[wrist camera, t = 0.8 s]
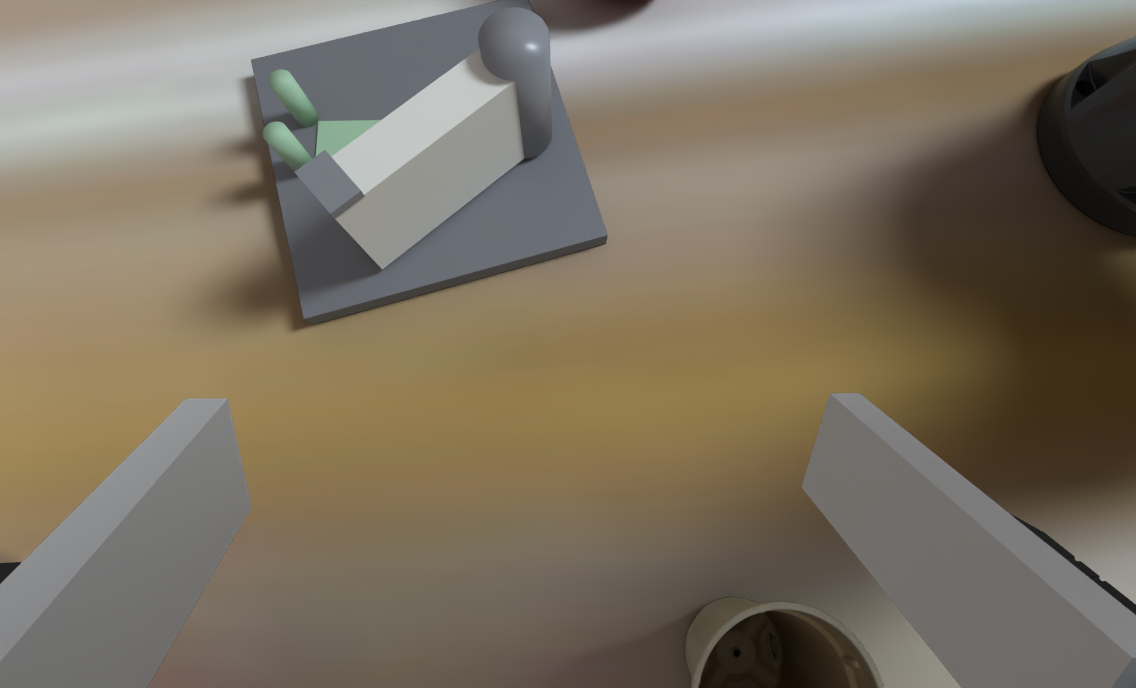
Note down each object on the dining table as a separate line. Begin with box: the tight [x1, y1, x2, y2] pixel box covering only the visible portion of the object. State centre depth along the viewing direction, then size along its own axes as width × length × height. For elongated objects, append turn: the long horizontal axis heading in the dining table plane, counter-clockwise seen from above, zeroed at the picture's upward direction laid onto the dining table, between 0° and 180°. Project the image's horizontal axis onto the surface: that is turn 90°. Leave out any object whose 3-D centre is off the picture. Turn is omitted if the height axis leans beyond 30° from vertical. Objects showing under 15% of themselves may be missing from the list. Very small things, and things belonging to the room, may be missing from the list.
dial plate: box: [251, 0, 608, 325], centre depth 38 cm, size 22×21×6 cm
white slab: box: [295, 7, 552, 270], centre depth 34 cm, size 16×4×9 cm, turn 132°
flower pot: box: [685, 597, 884, 688], centre depth 29 cm, size 9×9×9 cm
